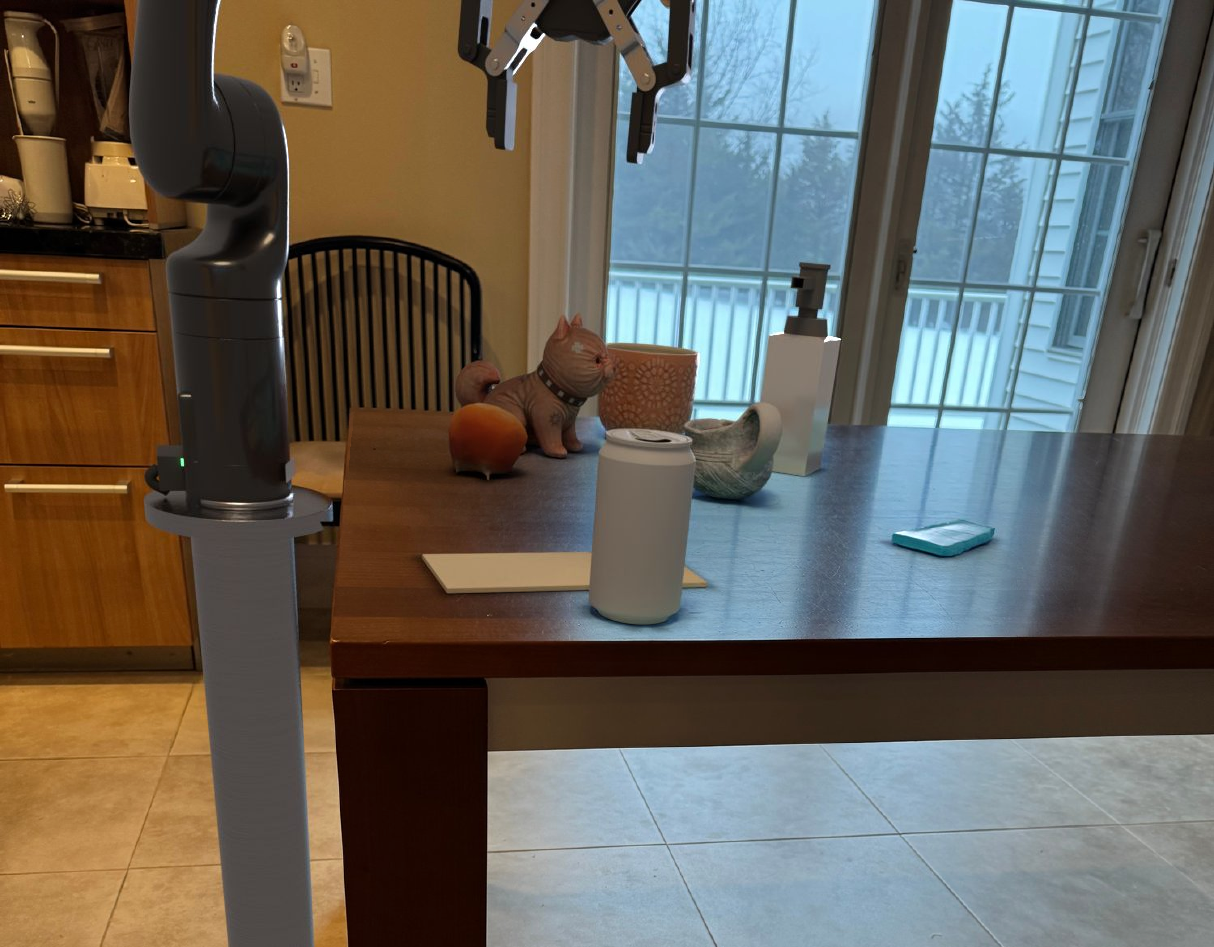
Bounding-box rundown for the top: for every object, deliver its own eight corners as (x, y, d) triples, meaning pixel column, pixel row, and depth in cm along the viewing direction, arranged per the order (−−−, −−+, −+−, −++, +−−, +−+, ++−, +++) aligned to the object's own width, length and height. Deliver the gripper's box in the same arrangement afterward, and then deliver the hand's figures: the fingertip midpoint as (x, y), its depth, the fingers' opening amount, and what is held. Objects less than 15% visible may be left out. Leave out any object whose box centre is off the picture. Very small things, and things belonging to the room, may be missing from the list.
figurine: (596, 466, 126) (606, 321, 119) (438, 444, 130) (439, 303, 124) (622, 453, 134) (633, 317, 128) (473, 433, 139) (476, 300, 132)
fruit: (425, 461, 113) (443, 386, 114) (453, 491, 121) (471, 420, 121) (499, 472, 111) (518, 395, 112) (523, 502, 119) (541, 430, 119)
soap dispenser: (744, 470, 131) (771, 260, 121) (769, 460, 138) (796, 261, 128) (798, 479, 129) (830, 265, 119) (820, 468, 136) (852, 266, 126)
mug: (730, 484, 123) (742, 387, 118) (809, 511, 114) (826, 406, 109) (659, 489, 117) (668, 387, 113) (736, 517, 108) (750, 407, 104)
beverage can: (607, 630, 75) (622, 442, 69) (574, 600, 80) (585, 424, 75) (694, 625, 77) (715, 443, 72) (656, 597, 82) (673, 426, 77)
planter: (693, 437, 150) (702, 348, 145) (687, 452, 139) (697, 357, 134) (601, 428, 151) (607, 339, 146) (587, 442, 140) (593, 347, 135)
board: (446, 593, 79) (447, 588, 79) (422, 559, 87) (422, 553, 87) (706, 587, 86) (707, 582, 86) (662, 555, 93) (663, 550, 93)
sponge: (1015, 534, 107) (963, 513, 110) (945, 548, 99) (891, 526, 102) (1010, 549, 107) (958, 528, 111) (939, 565, 100) (886, 542, 103)
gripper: (723, -146, 66) (686, 170, 74) (489, -163, 68) (478, 148, 76) (707, -185, 60) (669, 166, 67) (449, -203, 62) (441, 141, 69)
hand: (568, 156), depth 72 cm, fingers open, 8 cm apart
